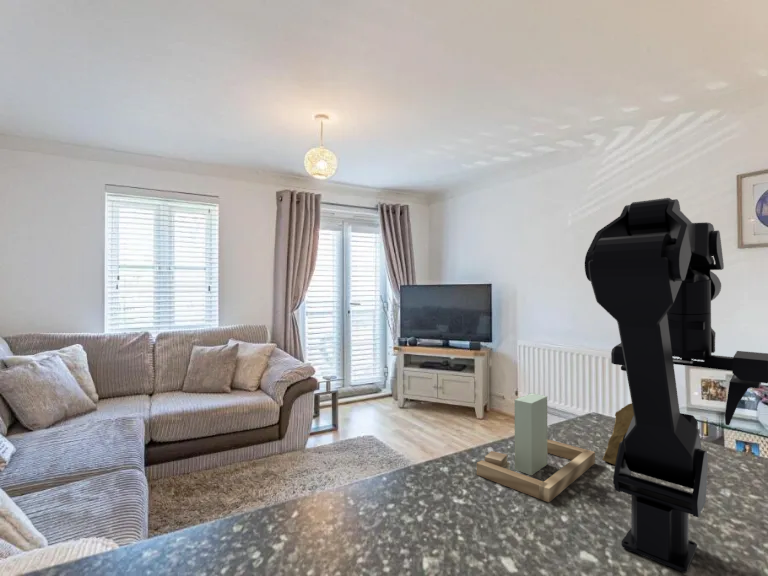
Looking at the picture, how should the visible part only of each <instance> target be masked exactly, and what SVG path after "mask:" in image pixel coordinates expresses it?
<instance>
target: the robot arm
mask: <svg viewBox="0 0 768 576" xmlns="http://www.w3.org/2000/svg"><path fill="white" fill-rule="evenodd" d="M724 267H725V265H724V256H723V249H722V240H721V232H720V230H718V229H717V230H715V227H714V225H713V224H712V223H711V222H692V221H691V220H690V219H689V218H688V217H687V216H686V215H685V214H684V213H683V212H682V211H681V206H680V202H679V200H678V199H672V198H670V197H666V198H665V197H664V198H659V199H658V198H657V199H656V198H655V199H649V200H642V201H634V202H631V203H630V204H626V205H625V206H624V207H623V208H622V211H621V214H620V215H619V216H618V217H616V218H615V219H614V220H612V221H610V222H609V223H607V224H606V225H605V226H604V227H602V228H601V229H599V230H598V231H597V232H595V235H594V237H593V239H592V241H591V243H590V244H589V248H588V250H587V251H586V253H585V258H584V272H585V276H586V279H587V280H588V281H589V282H590V283H591V287H592V290H593V291H592V292H593V293H594V297H595V301H596V303H597V304H598V305H599V306H600V307H602V308H603V309H604V310H605V312H606V313H608V314H609V315H610V316H611V318H613V319H614V320H615V321H616V323H617V327H618V333H619V337H620V343H618V344H616V345H615V346H614V347H612V350H611V352H610V357H611V364H613V365H616V366H620V370H621V371H623V372H626V377H627V383H628V389H629V394H630V395H629V396H630V399H631V403H632V406H633V412H634V416H633V418H632V421H631V423H630V426H629V428H628V431H627V433H625V435H624V437H623V441H622V442H620V443H619V448H618V453H617V458H616V463H615V465H614V468H613V469H614V471H613V473H614V474H613V481H612V482H613V486H614V491H615V492H618V493H624V494H626V495H627V494H628V495H630V496H631V498H630V499H631V509H630V511H631V517H630V518H631V522H630V525H631V527H630V529H629V530H628V532H627V533H626V534H625V536H624V537H623V539H622V540H621V547H622V548H624V549H625V550H628V551H631V552H633V553H636V554H638V555H641V556H643V557H646V558H648V559H650V560H652V561H656V563H657V562H658V563H660V564H662V565H664V566H668V567H670V568H672V569H675V570H677V571H680V572H682V573H687V572H688V570H689V568H690V566H691V564H692V561H693V559H694V557H695V554H696V552H697V549H698V544H697V543H696V542H695V541H693V540H690V539H689V528H690V527H689V526H690V525H689V521H690V520H689V517H690V516H689V515H692V516H693V517H695V518H699V517H700V515H701V514H702V511H703V509H704V507H705V505H706V502H707V501H706V499H707V488H708V487H707V485H708V484H707V483H708V472H709V471H708V467H709V457H708V451H707V450H704V449H702V442H701V438H700V431H699V424H698V423H699V422H698V420H697V419H696V418H695V416H694V415H692V414H687V413H683V412H681V411H680V406H679V405H680V404H679V396H678V390H677V381H676V374H675V367H674V366H675V365H679V366H688V367H696V368H706V369H713V370H723V371H731V372H732V377H730V380H729V384H728V389H727V391H728V392H727V398H726V406H725V413H724V423H725V426H730V424H731V423H732V420H733V417H734V415H735V412H736V410H737V407H738V405H739V403H740V402H741V400H742V398H743V397H744V395H745V394H746V392H747V391H748V390H749V389H750V388H751V389H759V388H760V387H761V384H768V353H766V352H765V353H764V352H754V351H742V350H736V351H735V354H734V355H733V356H724V355H714V353H715V352H716V332H715V330H714V329H713V327H712V301H713V300H715V299H716V298H717V297H718V296H719V295H720V292H721V290H722V282H721V280H720V278H719V277H718V276H717V274H715V273H714V272H713V271H721V270H724ZM632 473H635V474H640V475H642V476H646V477H650V478H652V479H653V478H654V479H655V480H656V479H657V480H659V481H663V482H667V483H671V484H674V485H678V486H681V487H684V488H688V489H692V492H690V491H687V490H684V489H679V488H677V487H673V486H669V485H666V484H663V483H659V482H656V481H652V480H648V479H646V478H643V477H639V476H636V475H632Z"/></svg>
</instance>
